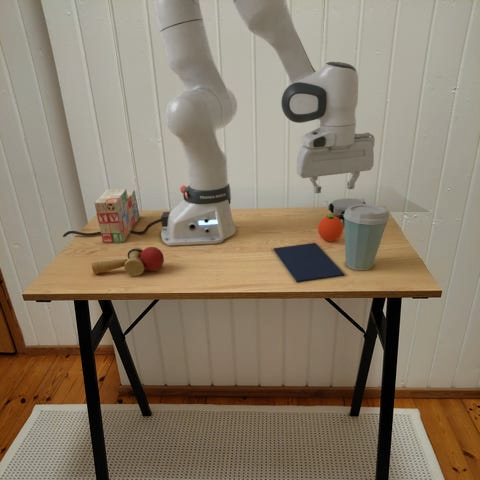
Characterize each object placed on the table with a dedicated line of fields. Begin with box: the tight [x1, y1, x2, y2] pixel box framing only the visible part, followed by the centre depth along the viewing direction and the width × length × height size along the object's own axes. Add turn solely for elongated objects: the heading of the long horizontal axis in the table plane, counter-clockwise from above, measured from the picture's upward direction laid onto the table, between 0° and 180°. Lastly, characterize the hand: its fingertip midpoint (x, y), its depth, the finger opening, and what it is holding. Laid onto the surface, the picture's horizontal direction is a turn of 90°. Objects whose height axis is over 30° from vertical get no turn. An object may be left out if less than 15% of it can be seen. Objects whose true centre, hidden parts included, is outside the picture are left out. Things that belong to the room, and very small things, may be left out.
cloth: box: [273, 242, 345, 283], centre depth 117 cm, size 12×20×1 cm, turn 13°
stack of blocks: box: [94, 188, 140, 244], centre depth 139 cm, size 21×6×12 cm, turn 178°
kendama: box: [91, 246, 165, 277], centre depth 115 cm, size 8×6×18 cm
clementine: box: [317, 214, 344, 242], centre depth 127 cm, size 8×7×7 cm
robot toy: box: [325, 197, 367, 224], centre depth 141 cm, size 12×4×15 cm
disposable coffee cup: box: [343, 203, 390, 271], centre depth 110 cm, size 11×11×15 cm
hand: (333, 190), depth 121 cm, fingers open, 8 cm apart
